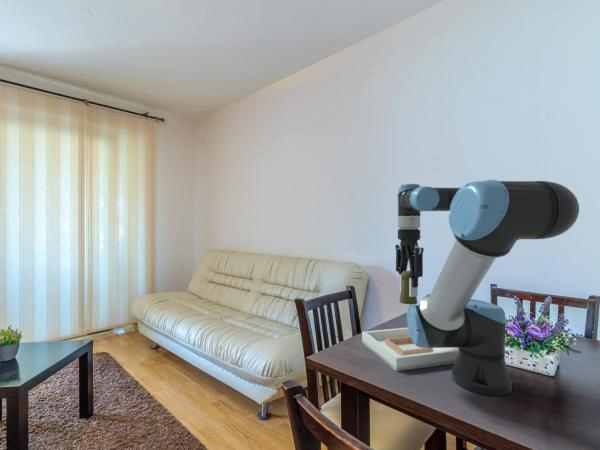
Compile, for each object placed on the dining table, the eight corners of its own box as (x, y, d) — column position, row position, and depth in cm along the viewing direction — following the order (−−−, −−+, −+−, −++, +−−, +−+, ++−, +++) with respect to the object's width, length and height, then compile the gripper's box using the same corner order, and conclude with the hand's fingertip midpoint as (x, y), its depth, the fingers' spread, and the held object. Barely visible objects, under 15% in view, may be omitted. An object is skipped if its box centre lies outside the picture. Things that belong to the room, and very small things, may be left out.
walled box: (461, 362, 106) (461, 350, 106) (396, 371, 100) (396, 358, 100) (417, 336, 129) (417, 326, 129) (362, 342, 123) (362, 331, 123)
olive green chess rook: (414, 300, 117) (415, 269, 116) (419, 304, 111) (419, 272, 110) (397, 299, 117) (398, 269, 117) (401, 304, 111) (401, 272, 111)
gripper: (435, 229, 106) (434, 300, 106) (403, 227, 123) (403, 288, 124) (415, 229, 104) (414, 301, 104) (386, 227, 121) (385, 289, 122)
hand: (408, 294), depth 114 cm, fingers closed on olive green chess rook, 5 cm apart
